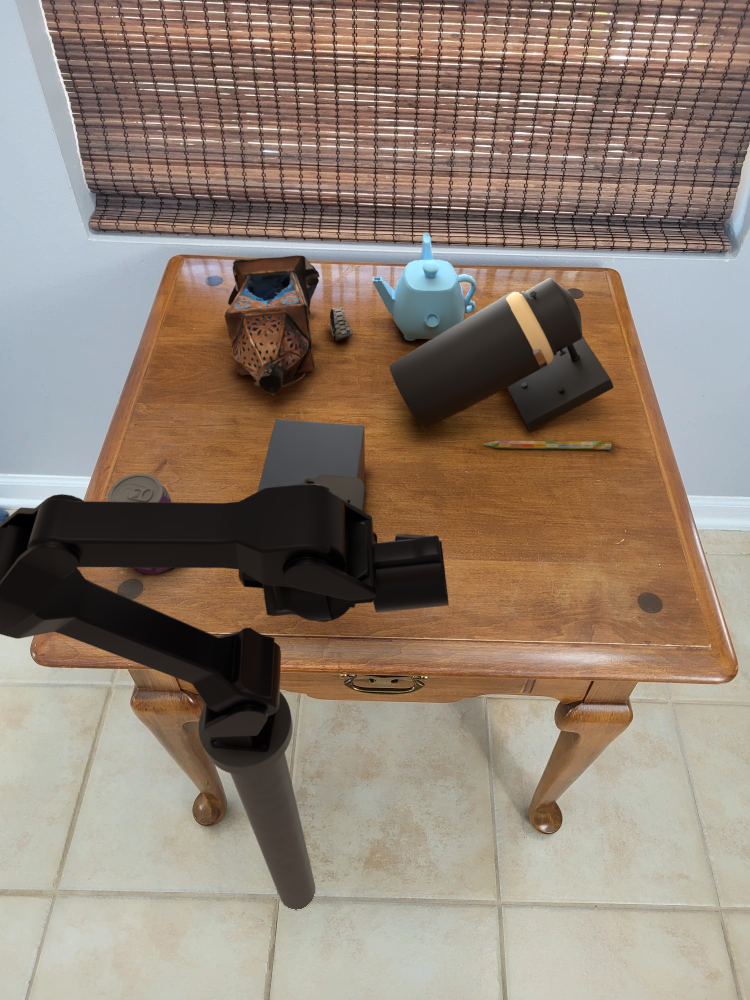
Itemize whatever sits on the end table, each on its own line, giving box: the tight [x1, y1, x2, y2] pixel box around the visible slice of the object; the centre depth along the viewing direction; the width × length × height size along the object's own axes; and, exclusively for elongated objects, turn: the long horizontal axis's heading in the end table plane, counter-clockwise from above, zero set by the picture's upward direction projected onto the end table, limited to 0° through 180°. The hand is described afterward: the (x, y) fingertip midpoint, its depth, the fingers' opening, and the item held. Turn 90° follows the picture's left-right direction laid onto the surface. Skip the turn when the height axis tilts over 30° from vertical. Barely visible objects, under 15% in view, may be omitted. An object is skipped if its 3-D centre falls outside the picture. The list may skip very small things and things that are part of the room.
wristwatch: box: [329, 306, 353, 342], centre depth 123 cm, size 3×5×5 cm
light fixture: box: [388, 277, 615, 433], centre depth 108 cm, size 13×18×26 cm
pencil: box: [483, 439, 612, 451], centre depth 109 cm, size 1×1×18 cm
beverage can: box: [107, 472, 172, 574], centre depth 93 cm, size 7×7×12 cm
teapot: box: [372, 232, 477, 342], centre depth 122 cm, size 15×14×11 cm
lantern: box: [223, 255, 321, 396], centre depth 116 cm, size 16×16×25 cm
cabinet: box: [256, 418, 366, 492], centre depth 98 cm, size 14×12×10 cm
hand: (345, 547), depth 83 cm, fingers closed
